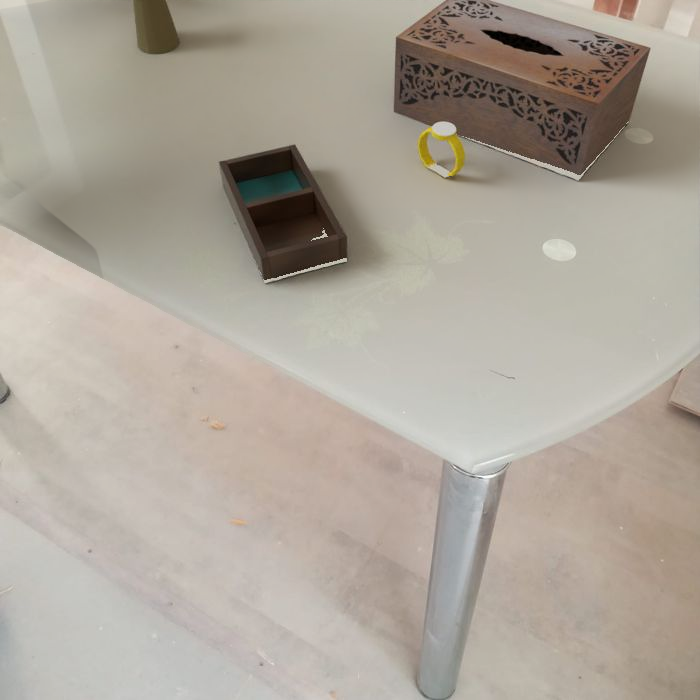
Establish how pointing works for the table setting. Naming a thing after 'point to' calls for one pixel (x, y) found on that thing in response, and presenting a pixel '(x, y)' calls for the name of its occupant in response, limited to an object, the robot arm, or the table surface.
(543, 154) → the tissue box cover
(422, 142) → the watch
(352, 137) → the table surface
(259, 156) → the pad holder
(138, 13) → the olive peg doll
